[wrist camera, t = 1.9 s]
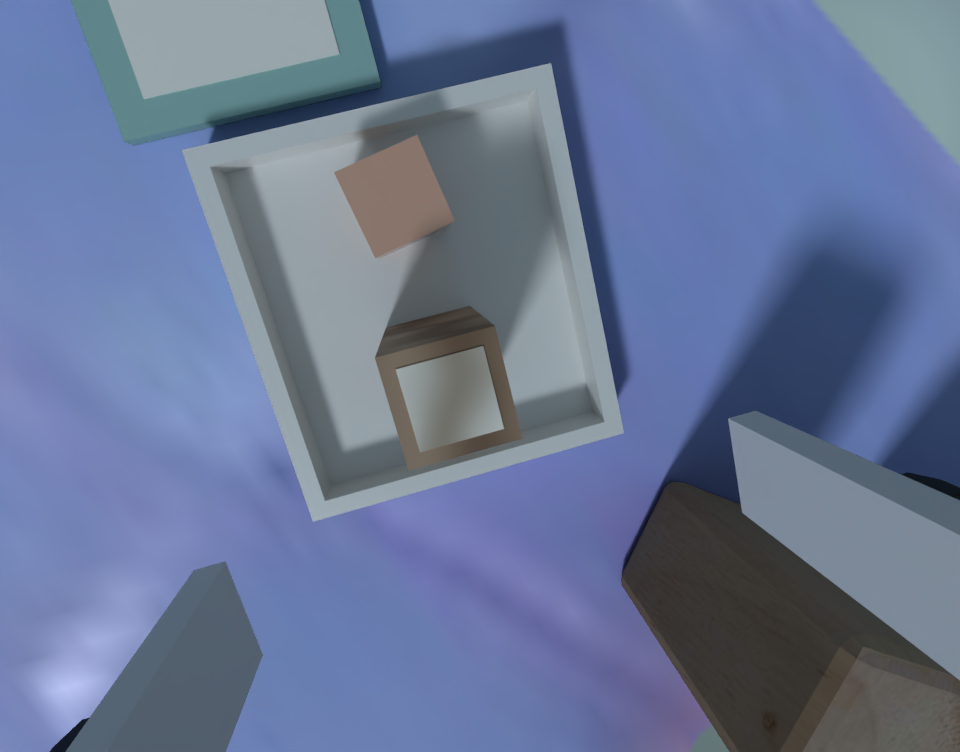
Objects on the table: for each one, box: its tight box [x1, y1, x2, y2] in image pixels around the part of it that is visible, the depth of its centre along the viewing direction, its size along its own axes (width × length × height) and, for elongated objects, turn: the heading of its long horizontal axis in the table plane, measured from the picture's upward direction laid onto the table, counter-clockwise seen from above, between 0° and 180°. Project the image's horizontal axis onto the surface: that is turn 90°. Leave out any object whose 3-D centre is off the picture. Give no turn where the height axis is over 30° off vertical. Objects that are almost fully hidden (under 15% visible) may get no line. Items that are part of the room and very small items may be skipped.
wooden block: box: [621, 482, 960, 752], centre depth 36 cm, size 10×10×20 cm
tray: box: [182, 63, 624, 522], centre depth 37 cm, size 22×24×4 cm
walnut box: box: [375, 306, 523, 471], centre depth 33 cm, size 6×6×12 cm
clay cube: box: [334, 135, 455, 258], centre depth 34 cm, size 5×5×6 cm
